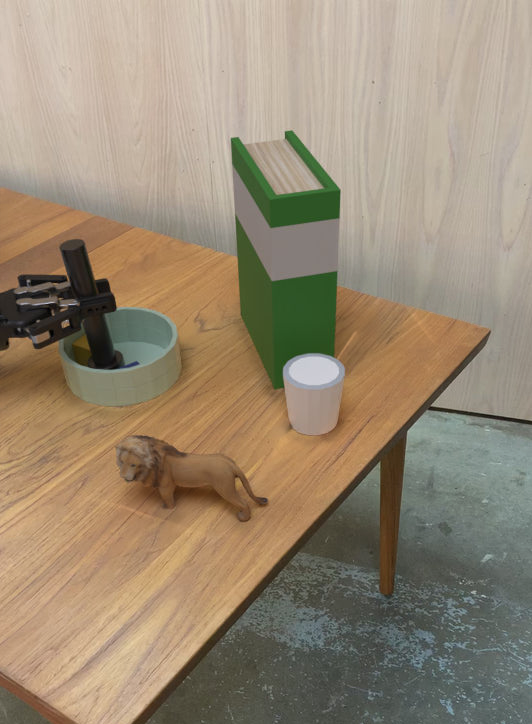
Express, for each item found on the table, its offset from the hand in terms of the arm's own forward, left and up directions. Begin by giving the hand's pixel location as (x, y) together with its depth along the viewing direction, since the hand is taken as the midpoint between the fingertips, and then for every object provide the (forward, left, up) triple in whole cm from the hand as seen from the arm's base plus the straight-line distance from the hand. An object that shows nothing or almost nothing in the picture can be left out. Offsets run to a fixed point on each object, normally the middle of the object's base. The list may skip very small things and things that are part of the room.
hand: (111, 294), depth 90 cm
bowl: (0, 0, -11) cm, 11 cm away
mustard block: (-5, 0, -11) cm, 12 cm away
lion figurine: (+19, -17, -11) cm, 28 cm away
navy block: (+4, -3, -11) cm, 12 cm away
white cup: (+25, +1, -11) cm, 27 cm away
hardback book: (+16, +13, -11) cm, 23 cm away
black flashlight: (-1, -2, -9) cm, 10 cm away
